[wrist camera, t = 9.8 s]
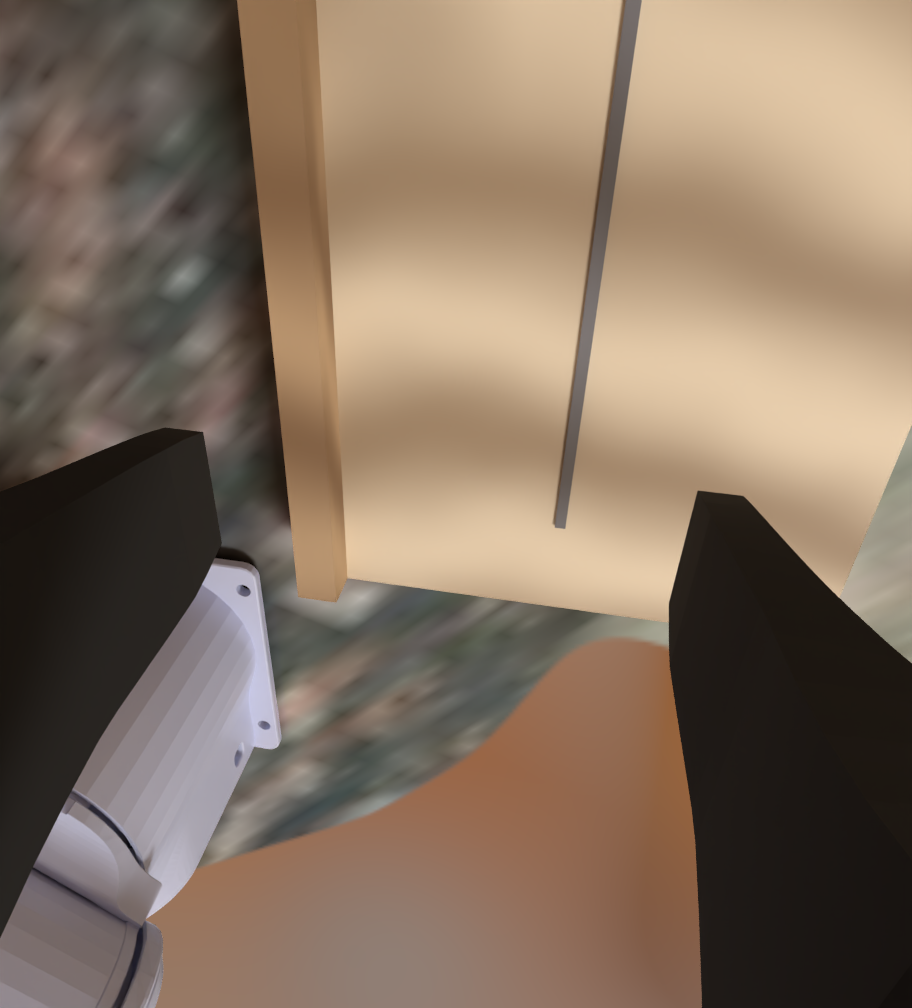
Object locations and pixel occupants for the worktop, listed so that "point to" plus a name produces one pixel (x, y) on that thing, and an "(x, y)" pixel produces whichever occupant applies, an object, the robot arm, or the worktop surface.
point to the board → (580, 282)
